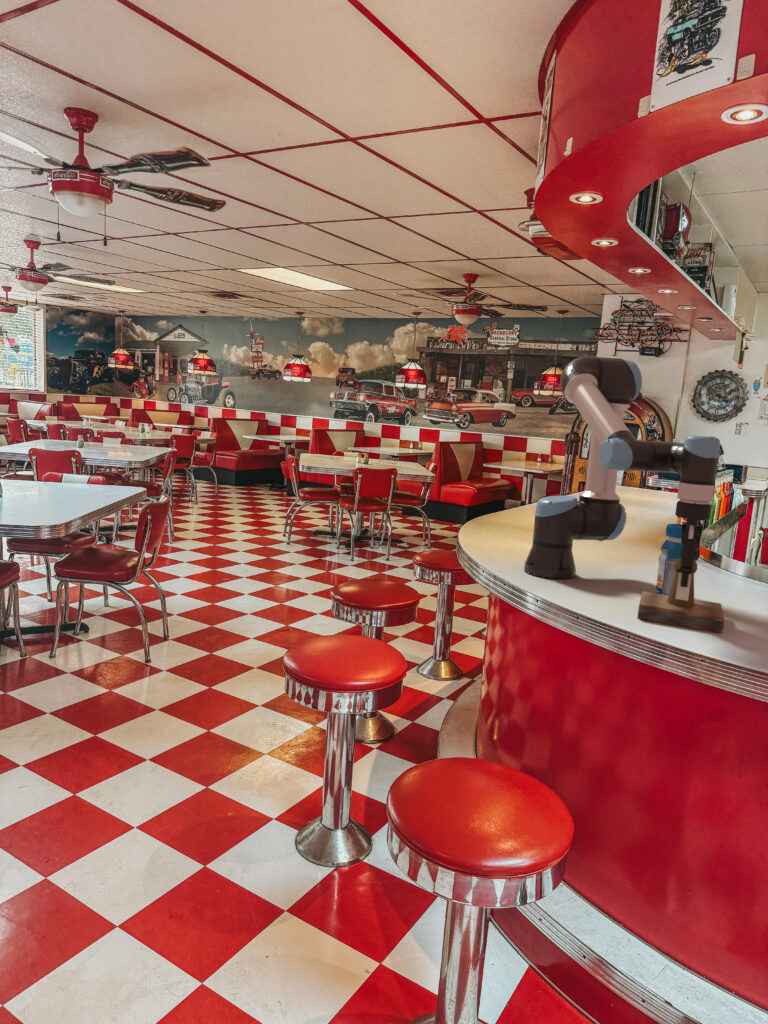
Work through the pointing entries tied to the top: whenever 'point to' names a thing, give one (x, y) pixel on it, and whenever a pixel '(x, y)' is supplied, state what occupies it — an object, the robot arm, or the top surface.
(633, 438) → the robot arm
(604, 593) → the top surface
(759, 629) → the top surface
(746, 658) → the top surface
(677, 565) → the cork
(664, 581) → the beverage bottle
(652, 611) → the wooden block
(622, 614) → the top surface
